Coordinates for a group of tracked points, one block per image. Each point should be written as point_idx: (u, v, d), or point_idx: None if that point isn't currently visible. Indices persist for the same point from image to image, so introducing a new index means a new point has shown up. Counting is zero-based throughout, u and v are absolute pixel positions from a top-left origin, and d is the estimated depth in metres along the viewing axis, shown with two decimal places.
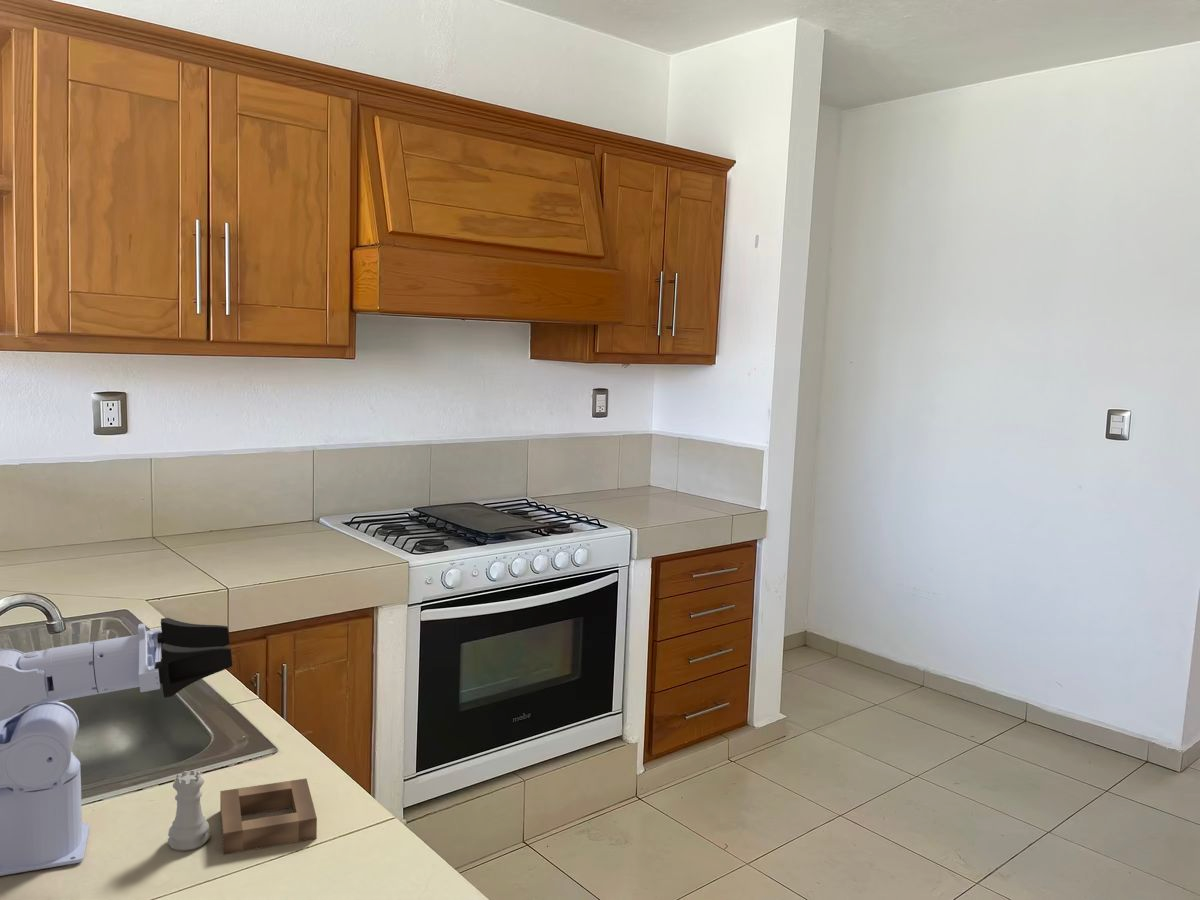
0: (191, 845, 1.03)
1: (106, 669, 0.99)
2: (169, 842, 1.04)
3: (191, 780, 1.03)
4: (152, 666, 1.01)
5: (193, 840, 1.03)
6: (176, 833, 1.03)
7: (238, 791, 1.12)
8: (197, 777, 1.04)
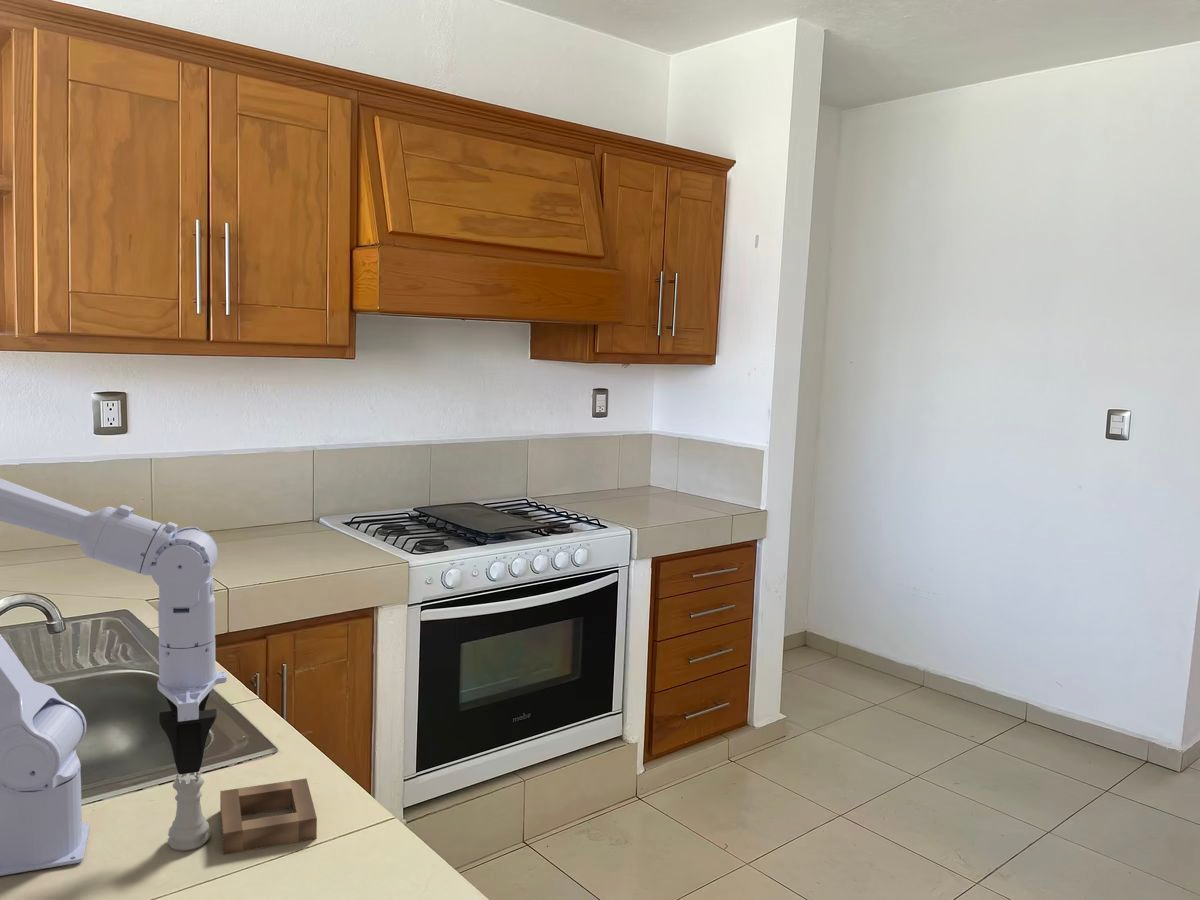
0: (191, 845, 1.03)
1: (193, 657, 1.00)
2: (169, 842, 1.04)
3: (191, 780, 1.03)
4: None
5: (193, 840, 1.03)
6: (176, 833, 1.03)
7: (238, 791, 1.12)
8: (197, 777, 1.04)
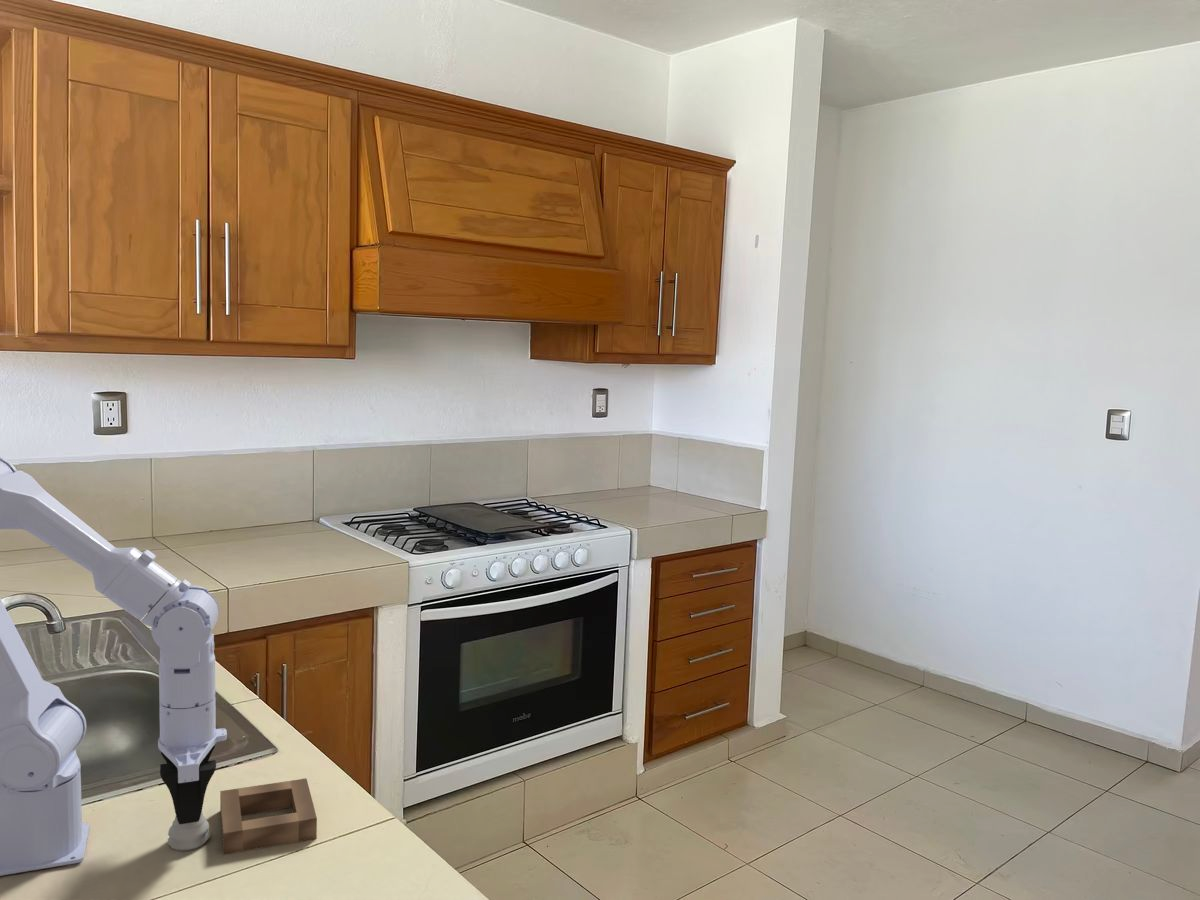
0: (191, 845, 1.03)
1: (193, 717, 1.01)
2: (169, 842, 1.04)
3: None
4: None
5: (193, 840, 1.03)
6: (176, 833, 1.03)
7: (238, 791, 1.12)
8: None
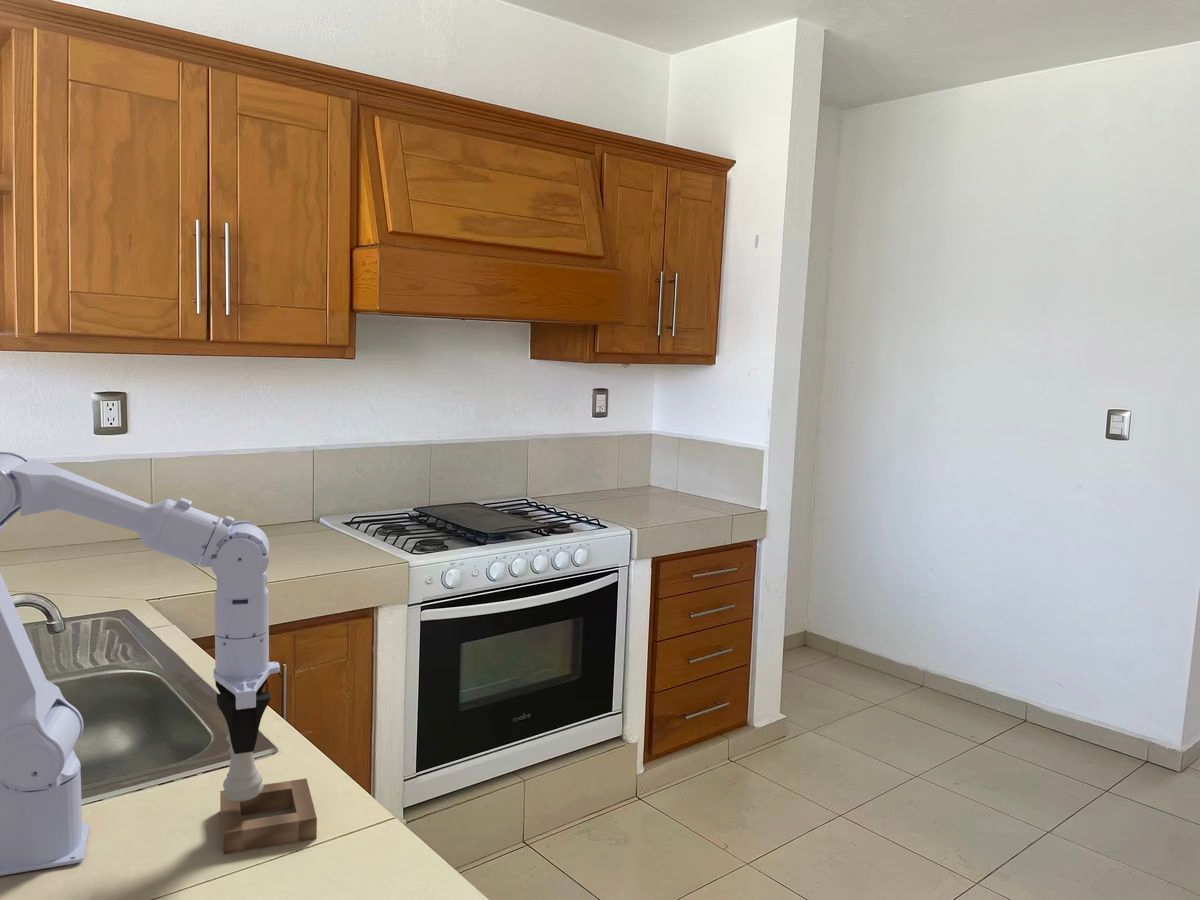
0: (246, 796, 1.06)
1: (248, 647, 1.03)
2: (225, 794, 1.06)
3: None
4: None
5: (248, 791, 1.06)
6: (232, 784, 1.06)
7: None
8: None
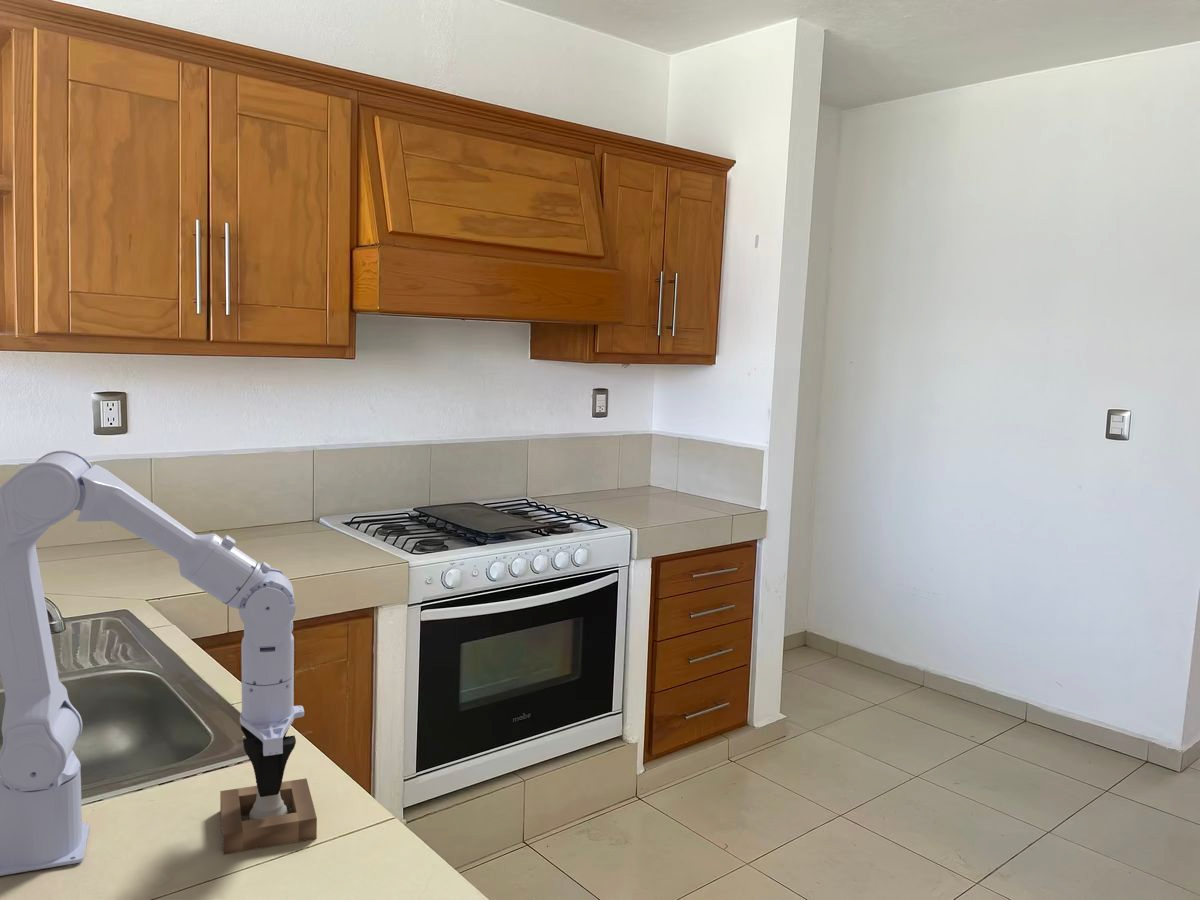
0: None
1: (275, 693, 1.05)
2: None
3: None
4: None
5: None
6: (258, 815, 1.08)
7: (238, 791, 1.12)
8: None
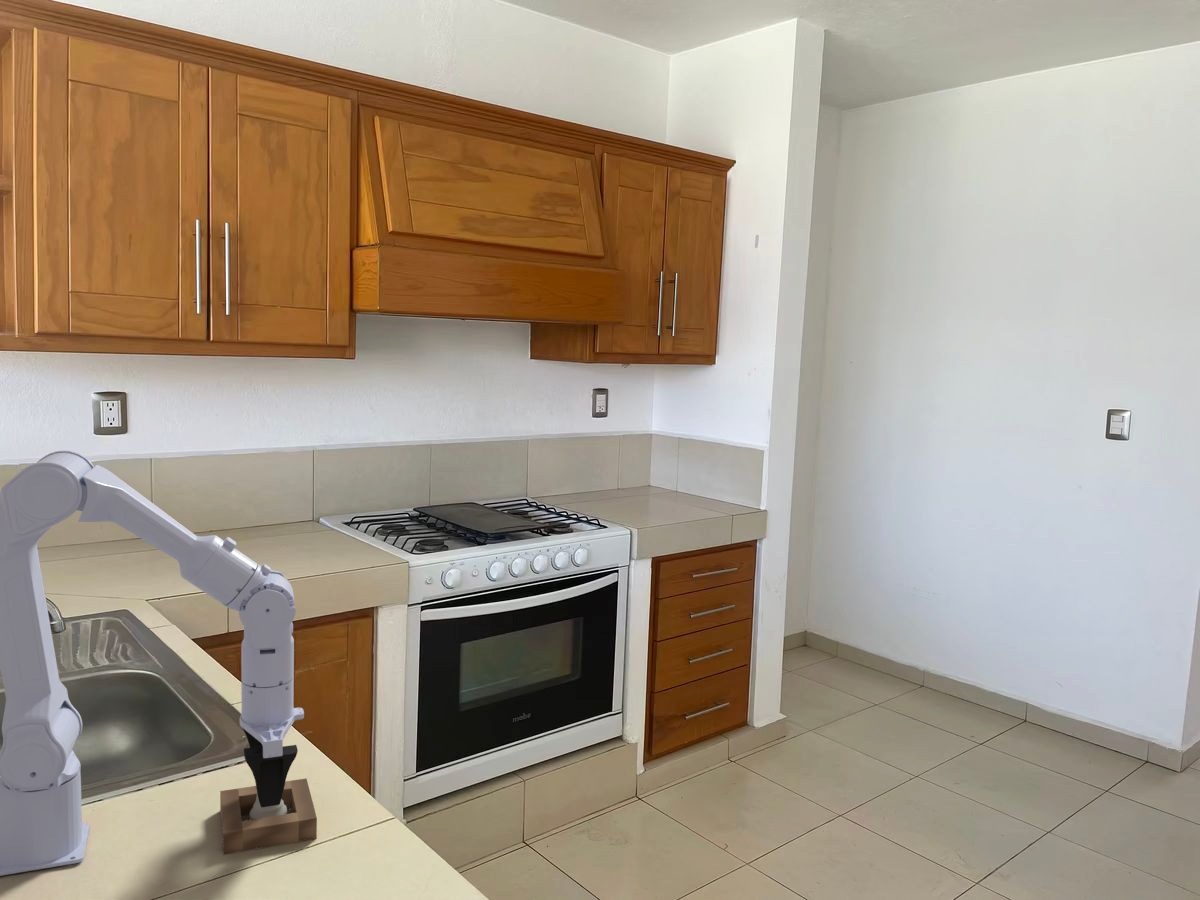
0: None
1: (275, 696, 1.05)
2: None
3: None
4: None
5: None
6: (258, 815, 1.08)
7: (238, 791, 1.12)
8: None
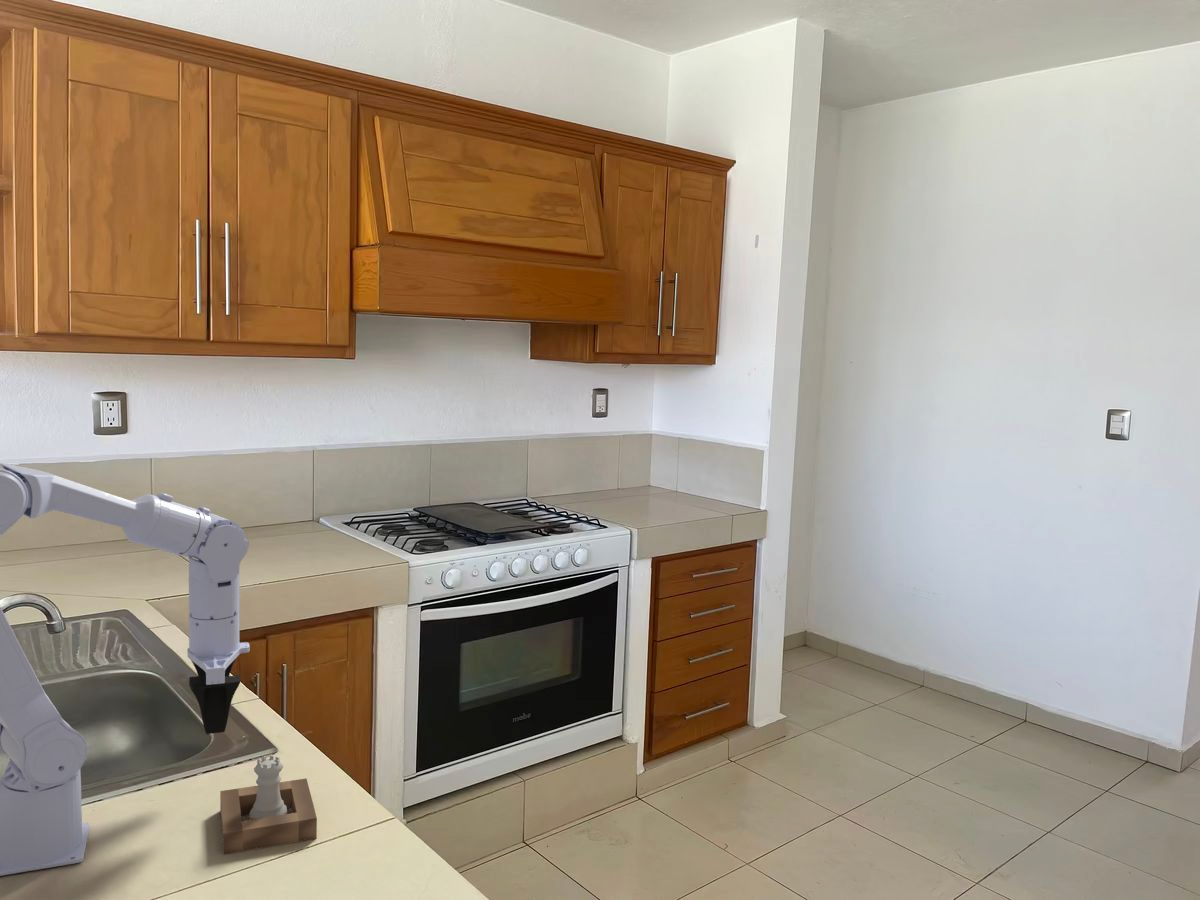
0: None
1: (219, 628, 1.11)
2: None
3: (272, 764, 1.08)
4: None
5: None
6: (258, 815, 1.08)
7: (238, 791, 1.12)
8: (277, 762, 1.08)
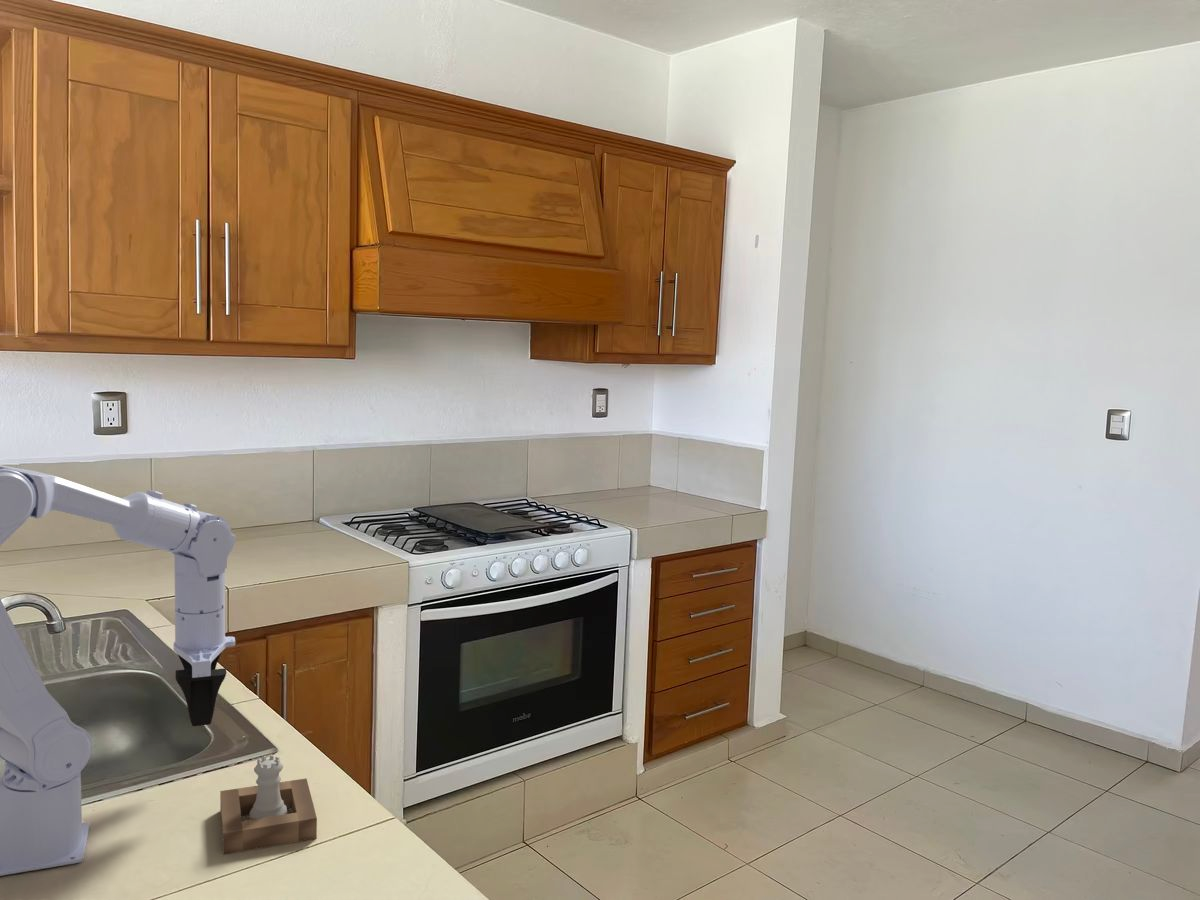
0: None
1: (205, 622, 1.12)
2: None
3: (272, 764, 1.08)
4: None
5: None
6: (258, 815, 1.08)
7: (238, 791, 1.12)
8: (277, 762, 1.08)
